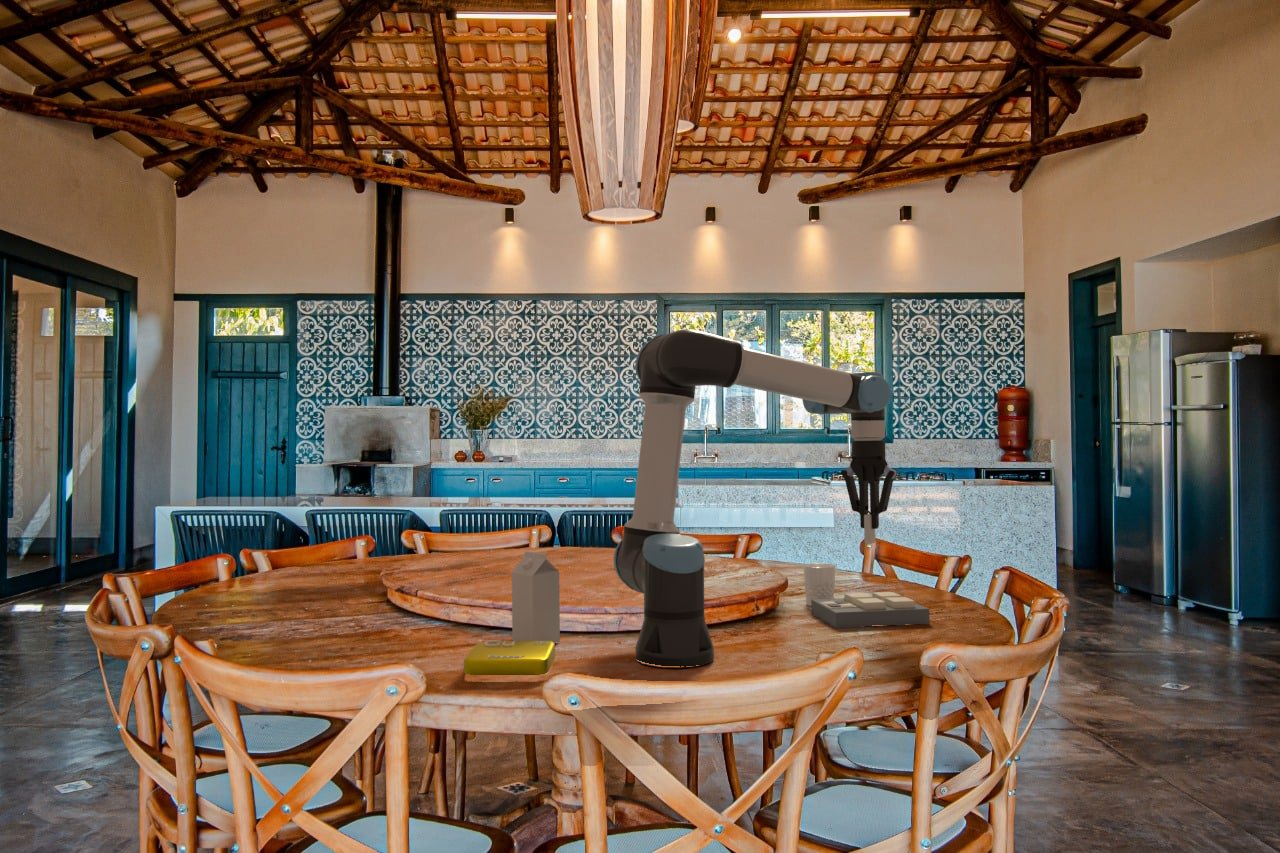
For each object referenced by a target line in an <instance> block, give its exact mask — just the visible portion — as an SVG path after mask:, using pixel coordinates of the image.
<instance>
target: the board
mask: <svg viewBox="0 0 1280 853" xmlns="http://www.w3.org/2000/svg"><path fill="white" fill-rule="evenodd" d="M811 605H812V606H811V615H812V616H814V617H815V618H817V619H819V620H821V621H823V622H825V623H826V624H828V625H829V626H831V627H833V628H834V629H849V627H857V628H862V627H861V626H872V625H903V626H906V625H905V624H926V625H930V608H929V607H926V606H923V605H921V604H918V603H916V602H915V608H897V609H893V608H891V607H888V606H886V605H885V609H873V610H863V609H861V608H859V607H857V606H856V604H851V603H848V602H846V601H845V599H844V598H843V597H842V598H834V599H814V600H811Z"/></svg>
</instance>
